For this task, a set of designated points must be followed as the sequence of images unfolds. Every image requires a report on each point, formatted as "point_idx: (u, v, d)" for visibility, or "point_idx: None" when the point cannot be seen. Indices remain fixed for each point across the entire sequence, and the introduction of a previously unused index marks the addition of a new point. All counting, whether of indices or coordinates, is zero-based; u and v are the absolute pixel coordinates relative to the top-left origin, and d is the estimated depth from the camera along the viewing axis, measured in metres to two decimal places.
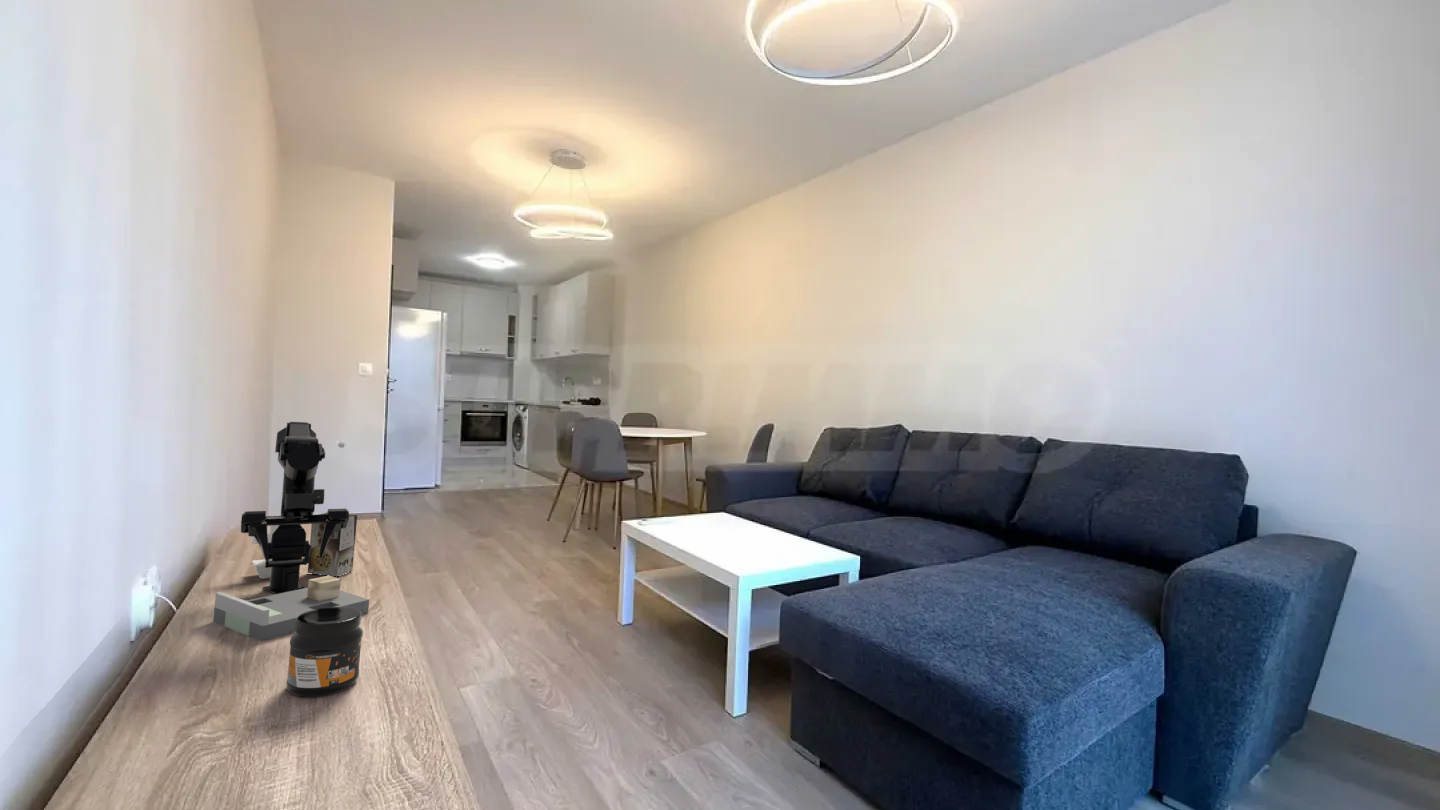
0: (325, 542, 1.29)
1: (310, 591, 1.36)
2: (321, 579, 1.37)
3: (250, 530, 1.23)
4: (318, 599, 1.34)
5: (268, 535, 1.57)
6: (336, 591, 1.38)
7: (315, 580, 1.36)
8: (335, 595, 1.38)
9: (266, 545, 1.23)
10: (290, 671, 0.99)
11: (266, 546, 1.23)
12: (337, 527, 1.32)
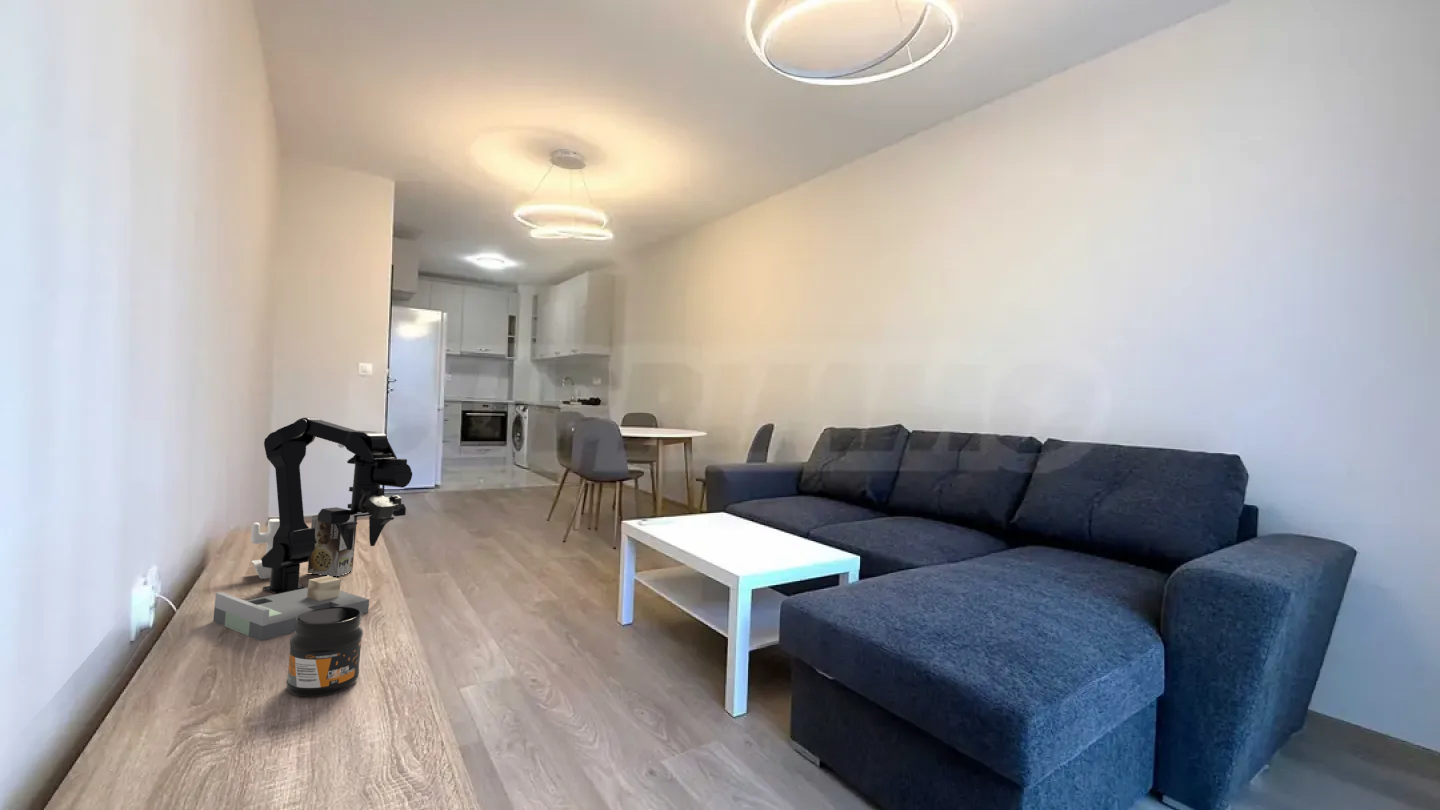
0: (378, 534, 1.47)
1: (310, 591, 1.36)
2: (321, 579, 1.37)
3: (340, 524, 1.39)
4: (318, 599, 1.34)
5: (268, 535, 1.57)
6: (336, 591, 1.38)
7: (315, 580, 1.36)
8: (335, 595, 1.38)
9: (352, 538, 1.41)
10: (290, 671, 0.99)
11: (352, 539, 1.42)
12: None
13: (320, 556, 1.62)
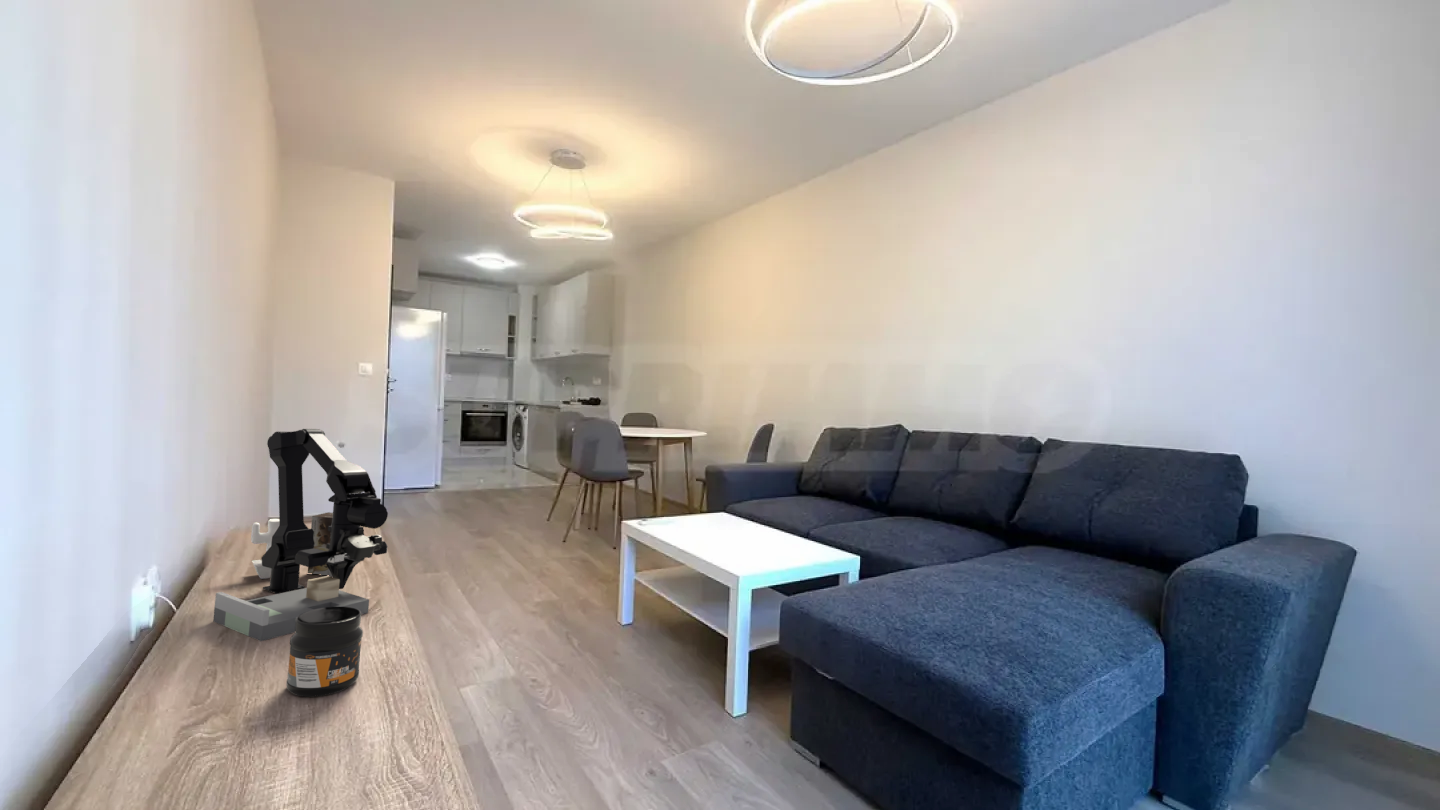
0: (347, 576, 1.41)
1: (309, 592, 1.36)
2: (320, 579, 1.37)
3: None
4: (317, 599, 1.34)
5: (268, 535, 1.57)
6: (335, 591, 1.38)
7: (314, 580, 1.36)
8: (334, 595, 1.37)
9: (342, 577, 1.40)
10: (290, 671, 0.99)
11: (342, 578, 1.40)
12: None
13: None
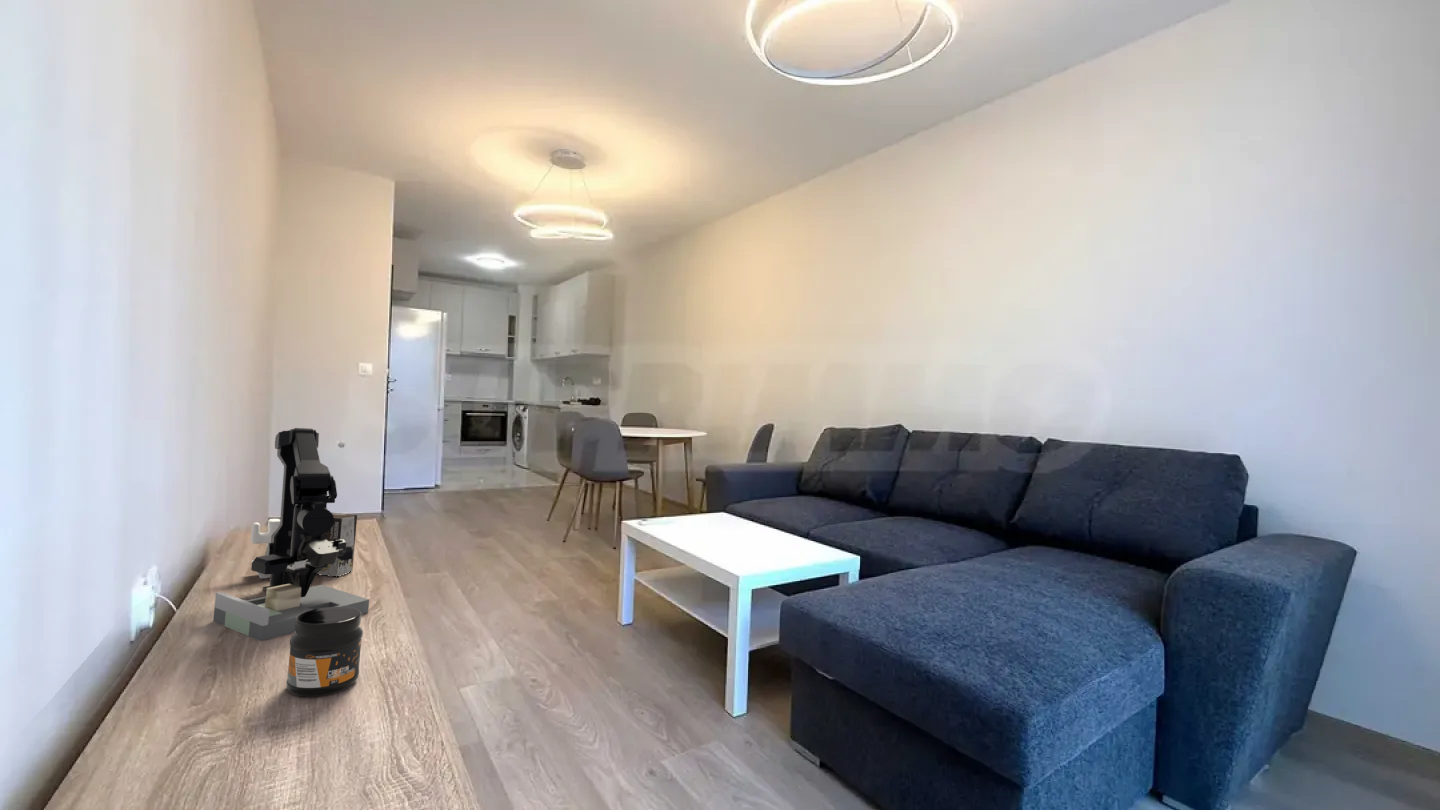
0: (310, 583, 1.33)
1: (268, 601, 1.28)
2: (280, 587, 1.29)
3: None
4: (276, 609, 1.27)
5: (268, 535, 1.57)
6: (296, 600, 1.30)
7: (273, 589, 1.28)
8: (295, 604, 1.30)
9: (304, 584, 1.32)
10: (290, 671, 0.99)
11: (304, 585, 1.32)
12: None
13: None
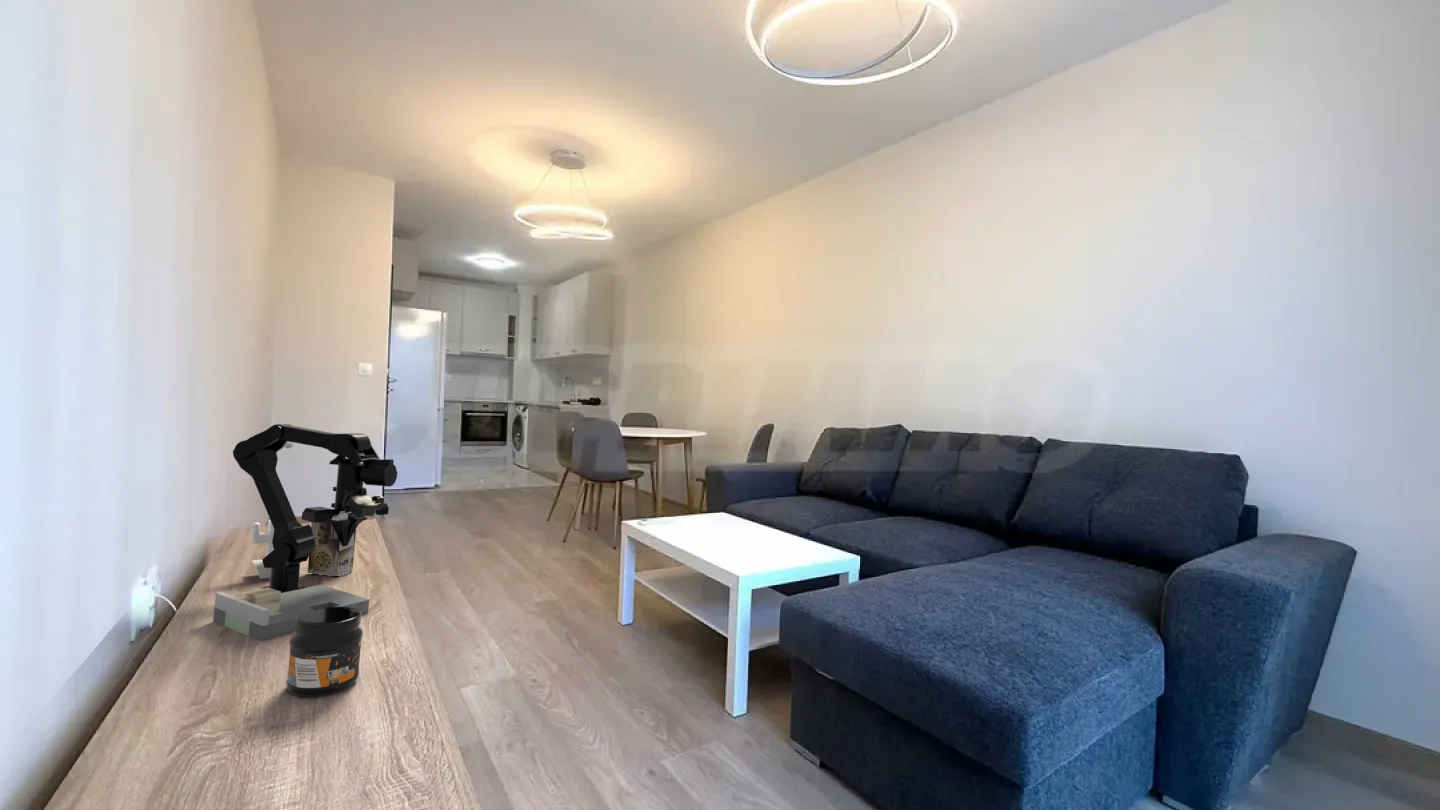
0: (351, 534, 1.50)
1: None
2: (259, 592, 1.26)
3: (335, 522, 1.46)
4: None
5: (268, 535, 1.57)
6: (275, 605, 1.26)
7: (252, 593, 1.25)
8: (274, 609, 1.26)
9: (346, 535, 1.48)
10: (290, 671, 0.99)
11: (346, 535, 1.48)
12: None
13: (320, 556, 1.62)
